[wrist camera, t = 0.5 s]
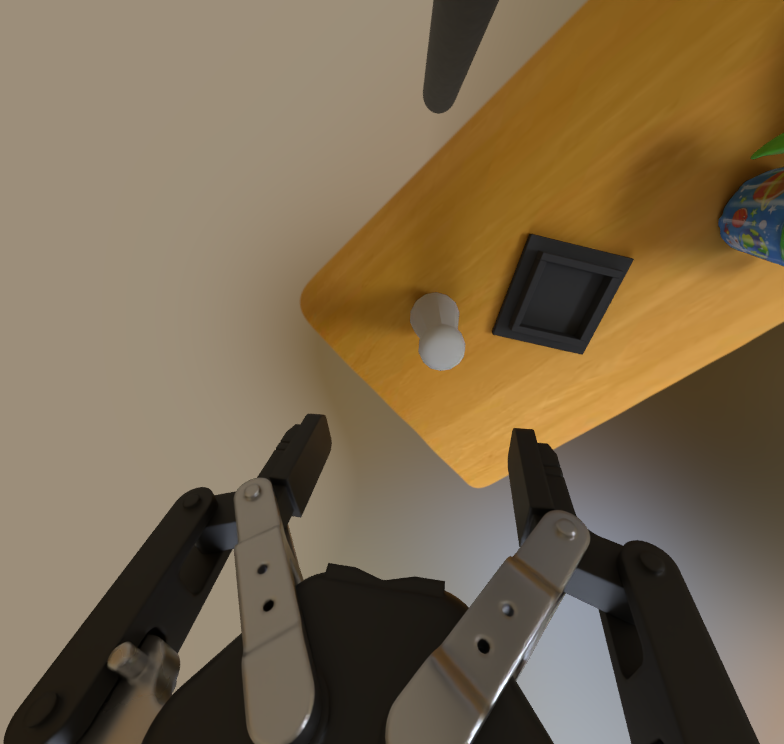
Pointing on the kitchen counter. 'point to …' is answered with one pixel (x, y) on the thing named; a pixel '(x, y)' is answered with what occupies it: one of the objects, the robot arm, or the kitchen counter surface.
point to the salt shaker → (438, 331)
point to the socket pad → (559, 294)
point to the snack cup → (758, 211)
